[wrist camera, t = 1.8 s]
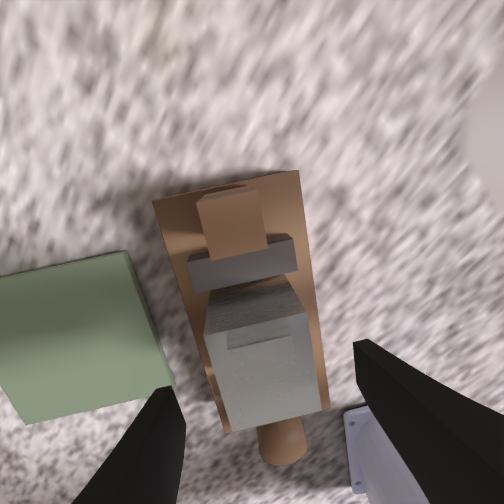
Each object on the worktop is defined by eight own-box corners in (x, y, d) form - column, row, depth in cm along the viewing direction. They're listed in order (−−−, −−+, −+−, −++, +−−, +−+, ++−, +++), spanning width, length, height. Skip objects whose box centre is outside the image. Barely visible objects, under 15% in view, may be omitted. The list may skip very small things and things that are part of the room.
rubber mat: (175, 383, 18) (173, 390, 17) (32, 417, 17) (25, 425, 17) (126, 250, 15) (122, 253, 14) (-48, 287, 14) (-60, 292, 14)
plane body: (317, 378, 19) (362, 478, 13) (225, 400, 19) (224, 513, 12) (286, 171, 14) (332, 167, 8) (164, 196, 14) (115, 213, 8)
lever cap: (297, 350, 15) (327, 423, 10) (231, 366, 15) (232, 446, 10) (284, 273, 13) (312, 321, 9) (210, 289, 13) (201, 346, 9)
